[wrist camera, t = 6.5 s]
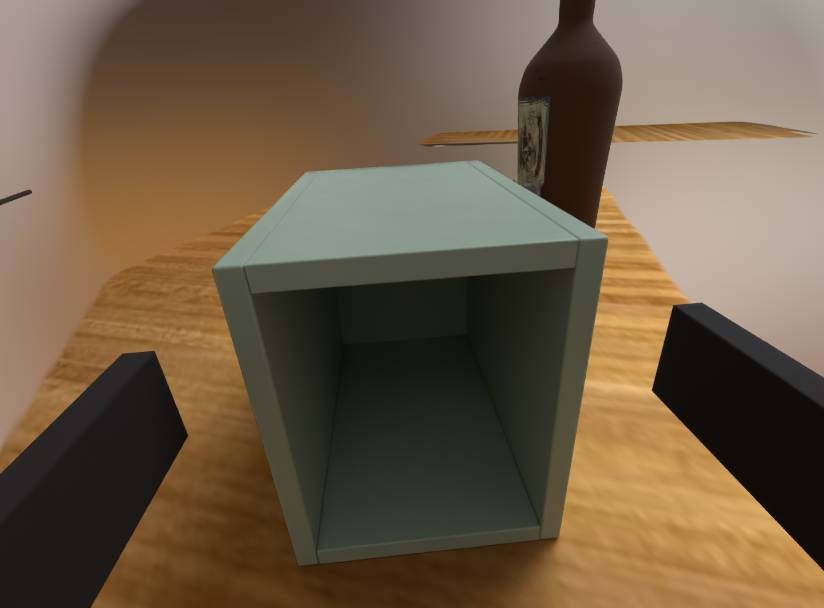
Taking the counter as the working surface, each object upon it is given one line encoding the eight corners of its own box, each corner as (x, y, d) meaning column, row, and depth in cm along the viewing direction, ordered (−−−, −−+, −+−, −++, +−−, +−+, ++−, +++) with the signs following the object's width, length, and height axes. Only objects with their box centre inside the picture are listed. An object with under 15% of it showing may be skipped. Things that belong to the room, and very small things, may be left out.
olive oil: (572, 212, 57) (599, -10, 46) (618, 234, 48) (666, -38, 37) (499, 219, 56) (508, -7, 45) (532, 243, 46) (554, -36, 35)
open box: (559, 538, 16) (610, 237, 10) (297, 567, 15) (209, 267, 10) (475, 337, 29) (478, 160, 24) (334, 349, 29) (305, 171, 23)
